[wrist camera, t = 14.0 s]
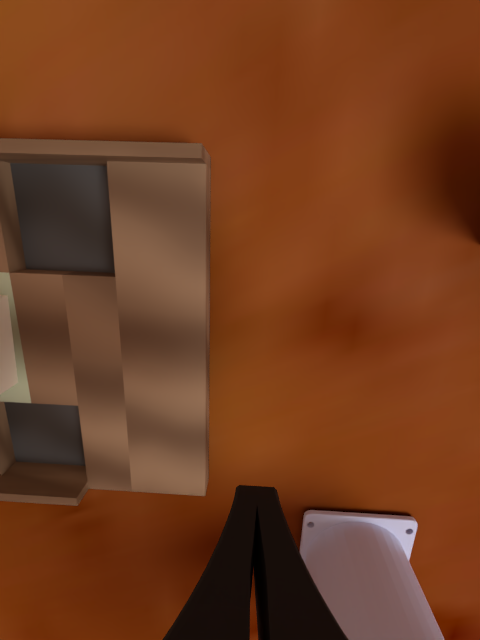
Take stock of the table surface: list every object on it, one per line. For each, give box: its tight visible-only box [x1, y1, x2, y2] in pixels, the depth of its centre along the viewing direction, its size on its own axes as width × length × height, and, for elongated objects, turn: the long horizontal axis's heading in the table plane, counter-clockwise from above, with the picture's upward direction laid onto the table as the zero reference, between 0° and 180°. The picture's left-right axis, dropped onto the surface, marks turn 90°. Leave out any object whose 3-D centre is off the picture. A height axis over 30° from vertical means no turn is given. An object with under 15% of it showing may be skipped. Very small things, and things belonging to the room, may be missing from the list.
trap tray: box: [0, 138, 211, 506], centre depth 19 cm, size 21×18×3 cm
